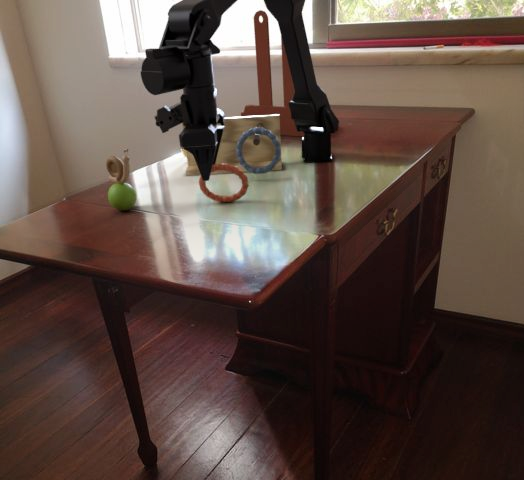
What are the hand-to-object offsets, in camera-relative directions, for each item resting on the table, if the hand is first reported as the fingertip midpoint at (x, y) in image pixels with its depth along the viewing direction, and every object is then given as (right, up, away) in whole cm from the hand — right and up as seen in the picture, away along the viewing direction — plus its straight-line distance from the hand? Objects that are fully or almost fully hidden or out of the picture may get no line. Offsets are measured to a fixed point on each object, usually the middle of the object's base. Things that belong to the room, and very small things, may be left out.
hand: (209, 173), depth 107 cm
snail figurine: (-17, -7, +3) cm, 18 cm away
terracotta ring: (+3, -2, -1) cm, 4 cm away
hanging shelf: (+18, +29, +53) cm, 63 cm away
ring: (-7, +14, +32) cm, 36 cm away
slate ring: (+9, +8, +10) cm, 16 cm away
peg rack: (+4, +5, +18) cm, 19 cm away
